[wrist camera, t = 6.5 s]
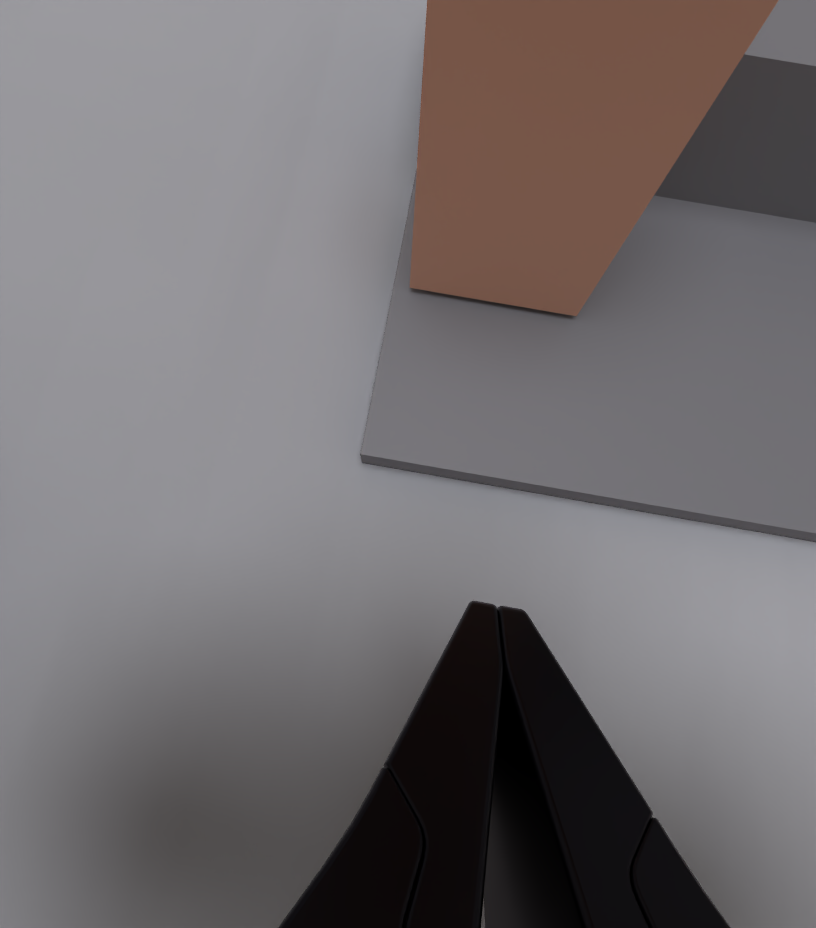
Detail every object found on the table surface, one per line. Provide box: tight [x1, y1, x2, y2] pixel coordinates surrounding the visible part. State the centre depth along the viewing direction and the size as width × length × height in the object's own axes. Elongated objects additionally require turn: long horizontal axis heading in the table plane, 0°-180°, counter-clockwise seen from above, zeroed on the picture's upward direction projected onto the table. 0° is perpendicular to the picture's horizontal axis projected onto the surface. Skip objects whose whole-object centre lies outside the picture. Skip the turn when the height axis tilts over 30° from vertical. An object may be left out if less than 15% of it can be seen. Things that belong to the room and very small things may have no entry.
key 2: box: [410, 0, 779, 316], centre depth 11 cm, size 4×5×14 cm
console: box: [360, 0, 816, 542], centre depth 16 cm, size 16×22×7 cm
